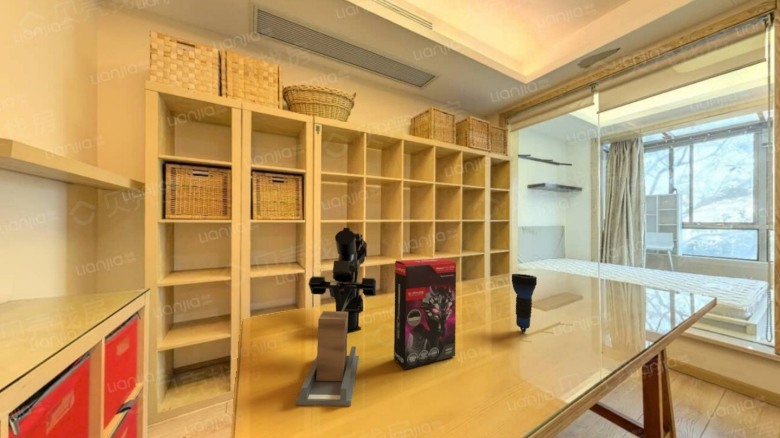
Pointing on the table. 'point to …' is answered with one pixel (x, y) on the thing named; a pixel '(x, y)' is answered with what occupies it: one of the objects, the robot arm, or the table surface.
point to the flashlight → (523, 298)
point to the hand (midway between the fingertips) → (339, 314)
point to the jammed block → (332, 346)
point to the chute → (330, 386)
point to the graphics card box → (424, 311)
